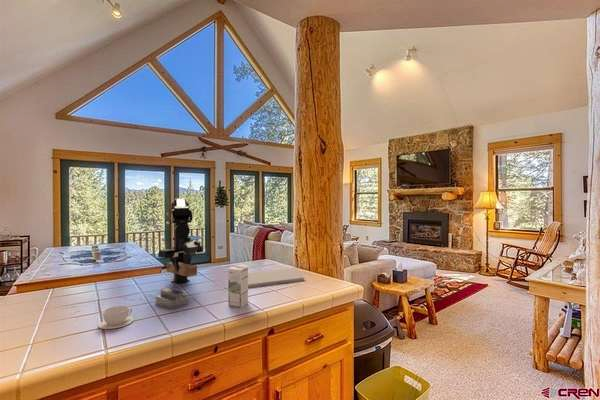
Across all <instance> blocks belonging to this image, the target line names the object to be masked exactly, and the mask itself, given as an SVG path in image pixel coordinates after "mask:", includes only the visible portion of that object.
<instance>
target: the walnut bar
mask: <svg viewBox="0 0 600 400" xmlns="http://www.w3.org/2000/svg"><path fill="white" fill-rule="evenodd" d="M166 272H167V273H170V274H173V275H174V274H178V275H183V276H187V278H190V277H194V276H198V265H196V264H195V265H194V264H192V263H191V264H186V263H181V262H179V270H178V272H176V270H175V268H174V266H173V264H172V262H171V261H170V262H166Z"/></svg>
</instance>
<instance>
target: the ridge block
mask: <svg viewBox="0 0 600 400" xmlns="http://www.w3.org/2000/svg"><path fill="white" fill-rule="evenodd" d="M155 305H158V306H161V307H162V308H166V309H169V310H173V309H175V308H179V307H182V306H186V305H188V295H185V294H184V292H182V291H179V290H175V289H173V288H169V287H166V288H162V289H160V295H156V296H155Z"/></svg>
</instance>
